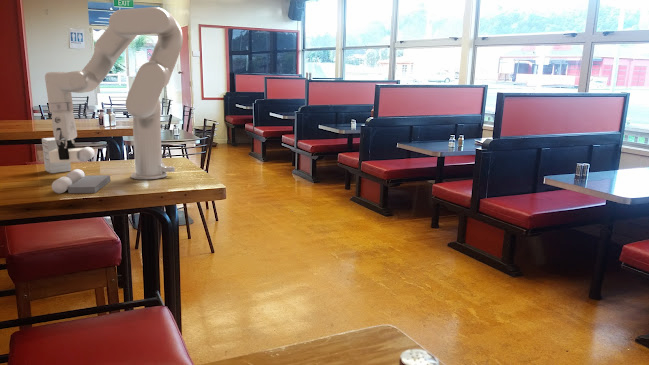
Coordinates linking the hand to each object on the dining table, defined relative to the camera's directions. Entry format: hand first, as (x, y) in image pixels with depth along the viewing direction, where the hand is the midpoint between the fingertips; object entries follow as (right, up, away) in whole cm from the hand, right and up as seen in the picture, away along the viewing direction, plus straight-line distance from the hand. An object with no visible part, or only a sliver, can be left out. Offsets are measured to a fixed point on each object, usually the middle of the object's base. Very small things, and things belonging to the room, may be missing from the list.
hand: (68, 157), depth 177 cm
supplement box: (-10, -5, +12) cm, 16 cm away
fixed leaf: (+12, -10, -12) cm, 20 cm away
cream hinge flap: (+2, -1, +1) cm, 2 cm away
